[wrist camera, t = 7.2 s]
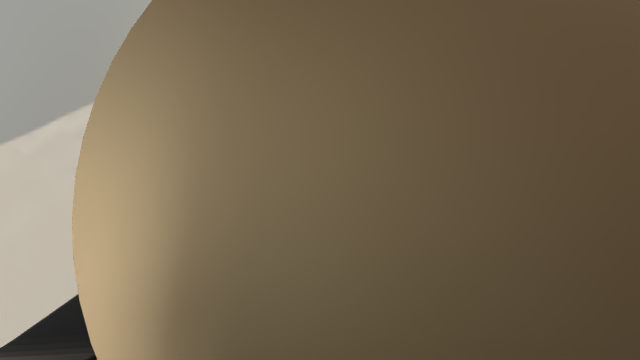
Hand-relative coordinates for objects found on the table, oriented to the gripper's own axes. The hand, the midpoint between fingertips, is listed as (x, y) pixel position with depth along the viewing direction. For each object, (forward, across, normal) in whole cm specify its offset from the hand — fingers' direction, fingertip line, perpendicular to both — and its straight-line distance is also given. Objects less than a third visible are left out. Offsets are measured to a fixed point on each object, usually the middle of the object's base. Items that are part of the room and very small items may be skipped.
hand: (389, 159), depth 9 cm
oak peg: (+4, 0, +6) cm, 7 cm away
